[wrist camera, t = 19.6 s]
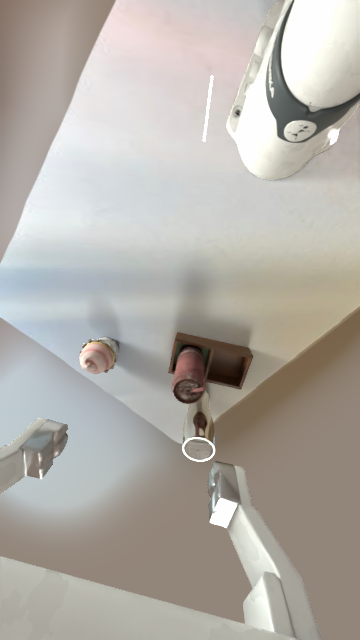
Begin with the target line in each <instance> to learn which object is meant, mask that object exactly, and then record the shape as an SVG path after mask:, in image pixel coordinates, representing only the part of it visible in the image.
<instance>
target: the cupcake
mask: <svg viewBox="0 0 360 640" xmlns="http://www.w3.org/2000/svg"><path fill="white" fill-rule="evenodd" d="M82 347H83V350H82V351H81V352H80V354H81V355H80V363H81V366H82V368H83V369H84V370H86V371H89V372H91V373H94V374H99V373H102V372H105V373H107V372H108V371H109V369H113V368H114V364H115V363H116V362H117V355H118V352H119V348H118V345H117V343H116V342H115V341H114V340H112V339H110V338H106V337H104V338H100V339H96V340H93V339H89V341H88V343H85V344H83V346H82Z"/></svg>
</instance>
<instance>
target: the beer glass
mask: <svg viewBox="0 0 360 640" xmlns="http://www.w3.org/2000/svg"><path fill="white" fill-rule="evenodd" d="M209 401H210V396H209V394H208V392H207V391H206V390H205V391H204V394H203V396H202V397H201V399H200V400H199V401H198V402H196V403H193V404H189V407H188V411H187V414H186V417H185V421H184V427H183V447H182V448H183V452H184V454H185V455H186V456H187V457H188V458H190V459H192V460H195V461H206V460H209V459H210V458H212V457H213V455H214V453H215V431H214V424H213V420H212V416H211V413H210V410H209Z"/></svg>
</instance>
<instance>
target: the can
mask: <svg viewBox="0 0 360 640" xmlns="http://www.w3.org/2000/svg"><path fill="white" fill-rule="evenodd" d="M205 385H206V380H205V376H204V359H203V352H202V350H201V349H200V348H199V347H197V346H194V345H186V346H184V347H183V348H182V349H181V350H180V352H179V356H178V361H177V365H176V370H175V375H174V379H173V384H172V390H173V393H174V396H175V397H176V399H178V400H179V401H180V402H183V403H186V404H193V403H196V402H198V401H199V400H200V399H201V397H202V396H203V394H204V391H205Z"/></svg>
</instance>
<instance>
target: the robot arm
mask: <svg viewBox="0 0 360 640" xmlns="http://www.w3.org/2000/svg"><path fill="white" fill-rule="evenodd" d="M212 82H213V76H211V80H210V88H209V96H208V104H207V112H206V120H205V128H204V136H203V141H204V142H205V136H206V129H207V121H208V113H209V105H210V97H211V90H212ZM359 101H360V0H281V1H279V2H278V3H276V4H275V5H273V6H272V7H271V8H270V10H269V12H268V14H267V17H266V19H265V22H264V24H263V26H262V28H261V31H260V34H259V37H258V40H257V43H256V46H255V48H254V51H253V54H252V56H251V59H250V62H249V64H248V67H247V70H246V72H245V75H244V78H243V80H242V83H241V85H240V88H239V91H238V93H237V96H236V99H235V101H234V104H233V107H232V109H231V112H230V115H229V117H228V120H227V130H228V132H229V133H230V135H231V136H232V137H233V138H234V139H235V141H236V143H237V145H238V149H239V153H240V156H241V158H242V161H243V163H244V164H245V166H246V167H247V168H248V170H249V171H250V172H252V173H253V174H254V175H256V176H257V177H260V178H262V179H266V180H279V179H283V178H286V177H289V176H291V175H293V174H294V173H296V172H297V171H299V170H300V169H301V168H302V167H304V166H305V165H306V164H307V163H308V162H309V161H310V159H312V158H313V157H314V156H315V155H317V154H319V153H322V152H324V151H325V150H327V149H329V148H330V147H331V146H332V145H333V144H334V143H335V141H336V140H337V137H338V132H339V130H340V129H341V127H342V126H343V125H344V124H345V123H346V122H347V121H348V120H349V119H350V117H351V116H352V115H353V114H354V113H355V112H356V110H357V109H358V107H359V105H360V102H359ZM235 113H239V116H236V115H235ZM67 429H68V425H67V424H63V423H59V422H56V421H52V420H49V419H45V418H41V417H40V418H38V419H36V420H35V421H34V422H33V423H32V424H31V425H30V426H29V427H28V428H27V429H26V430H25V431H24V432H23V433H21V434H20V435H19V436H18V437H17V438H16V439H15V440H14V441H13V442H12V443H11V444H10V445H9V446H8V445H5V446H3V447H1V448H0V494H1V493H2V492H4V491H5V490H7V489H8V488H9V487H11V486H12V485H14V484H15V483H16V482H18V481H19V480H21V479H22V478H23V477H25V475H26V476H31V477H36V478H40V479H42V478H43V477H44V476H45V474H46V473H47V472H48V470H49V469H50V467H51V466H52V465H53V459H54V458H56V457H57V456H59V455H60V454H61V452H62V451H63V449H64V447H65V445H66V443H67V440H68V435H67V434H66V431H67ZM208 493H209V496H210V497H211V500H210V502H209V522H210V523H213V524H217V525H220V526H224V527H227V530H228V532H229V535H230V537H231V539H232V542H233V544H234V546H235V548H236V551H237V553H238V556H239V558H240V560H241V562H242V565H243V567H244V569H245V572H246V574H247V576H248V579H249V581H250V583H251V586H252V588H253V589H252V590H251V592H250V593H249V595H248V596H247V598H246V599H245V601H244V603H243V609H244V616H245V624H243V623H239V622H235V621H232V620H228V619H224V618H221V617H217V616H213V615H210V614H206V613H203V612H199V611H196V610H192V609H189V608H185V607H182V606H178V605H174V604H170V603H167V602H163V601H160V600H156V599H153V598H149V597H145V596H142V595H138V594H135V593H131V592H127V591H124V590H120V589H117V588H113V587H109V586H106V585H102V584H98V583H95V582H92V581H88V580H84V579H81V578H77V577H74V576H70V575H66V574H62V573H59V572H55V571H52V570H48V569H45V568H41V567H38V566H34V565H30V564H27V563H23V562H20V561H16V560H12V559H9V558H5V557H1V556H0V640H322V637H321V634H320V631H319V628H318V625H317V622H316V619H315V616H314V613H313V610H312V607H311V603H310V600H309V597H308V594H307V591H306V588H305V585H304V582H303V580H302V578H301V577H300V575H299V573H298V572H297V570H296V569H295V567H294V566H293V564H292V563H291V561H290V560H289V558H288V556H287V555H286V553H285V552H284V550H283V549H282V547H281V546H280V544H279V543H278V541H277V540H276V538H275V536H274V535H273V533H272V532H271V530H270V529H269V527H268V526H267V524H266V523H265V521H264V520H263V518H262V517H261V515H260V513H259V512H258V511H257V509H256V508H253V504H252V499H251V495H250V491H249V486H248V482H247V478H246V473H245V470H244V468H243V467H239V466H234V465H231V464H227V463H222V462H218V461H214V463H213V470H211V471H210V474H209V479H208Z"/></svg>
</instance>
